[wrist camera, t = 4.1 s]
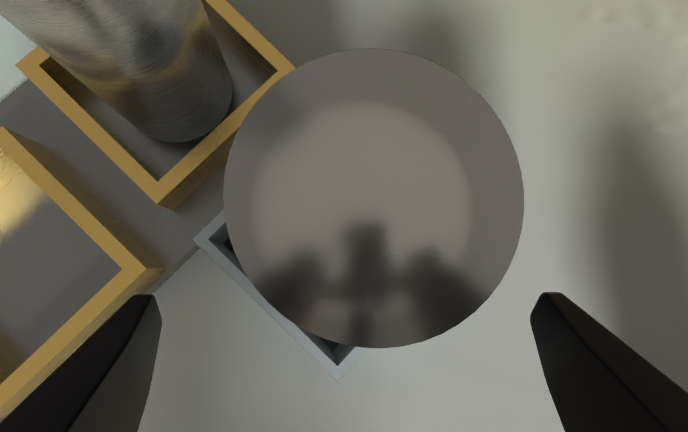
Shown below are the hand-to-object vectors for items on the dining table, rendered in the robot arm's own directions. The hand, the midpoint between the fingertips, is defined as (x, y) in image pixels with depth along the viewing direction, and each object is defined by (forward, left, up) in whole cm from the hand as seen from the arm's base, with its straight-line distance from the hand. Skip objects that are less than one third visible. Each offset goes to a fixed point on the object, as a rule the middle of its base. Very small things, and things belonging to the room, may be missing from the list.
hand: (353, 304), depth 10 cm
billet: (+1, +1, -10) cm, 10 cm away
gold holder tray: (-4, +10, -9) cm, 15 cm away
